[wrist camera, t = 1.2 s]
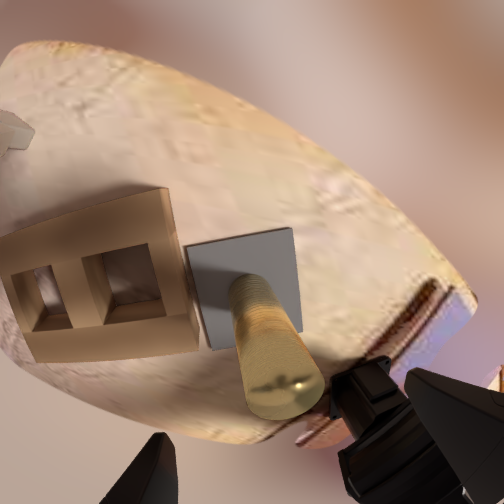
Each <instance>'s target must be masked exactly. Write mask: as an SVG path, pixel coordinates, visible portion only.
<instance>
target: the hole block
mask: <svg viewBox="0 0 504 504" xmlns="http://www.w3.org/2000/svg"><path fill="white" fill-rule="evenodd" d="M145 243H148V247H149V251H150V256H151V260H152V264H153V268H154V271H155V275H156V279H157V283H158V286H159V290H160V293H161V297H162V299H157V300H151V301H145V302H139V303H132V304H126V305H120V306H116V303H115V300H114V297H113V294H112V290H111V287H110V284H109V281H108V278H107V274H106V271H105V267H104V264H103V260H102V256H101V253H103V252H108V251H112V250H117V249H121V248H126V247H131V246H135V245H140V244H145ZM48 265H51V266H52V269H53V273H54V276H55V279H56V282H57V285H58V288H59V291H60V294H61V297H62V300H63V303H64V305H65V308H66V311H67V313H64V314H56V315H48V312H47V310H46V307H45V304H44V302H43V299H42V296H41V293H40V290H39V287H38V284H37V281H36V278H35V275H34V271H33V269H36V268H40V267H44V266H48ZM0 276H1V279H2V282H3V285H4V288H5V291H6V294H7V297H8V300H9V302H10V305H11V308H12V310H13V313H14V315H15V318H16V320H17V323H18V325H19V327H20V330H21V332H22V334H23V336H24V338H25V341H26V343H27V345H28V347H29V349H30V351H31V353H32V355H33V357H34V359H35V361H36V362H37V363H71V362H96V361H112V360H125V359H136V358H146V357H155V356H163V355H171V354H178V353H186V352H192V351H198V348H199V331H200V327H199V323H198V320H197V316H196V312H195V309H194V305H193V301H192V297H191V293H190V289H189V285H188V281H187V277H186V273H185V268H184V264H183V260H182V255H181V251H180V246H179V242H178V237H177V232H176V227H175V222H174V217H173V212H172V207H171V201H170V196H169V190H168V188H162V189H155V190H151V191H147V192H143V193H138V194H134V195H130V196H126V197H123V198H119V199H115V200H111V201H108V202H104V203H100V204H97V205H93V206H90V207H87V208H83V209H80V210H77V211H73V212H70V213H67V214H64V215H61V216H58V217H55V218H52V219H49V220H46V221H43V222H40V223H37V224H34V225H32V226H29V227H26V228H23V229H21V230H18V231H16V232H13V233H10V234H8V235H5V236H3V237H0Z"/></svg>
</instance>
